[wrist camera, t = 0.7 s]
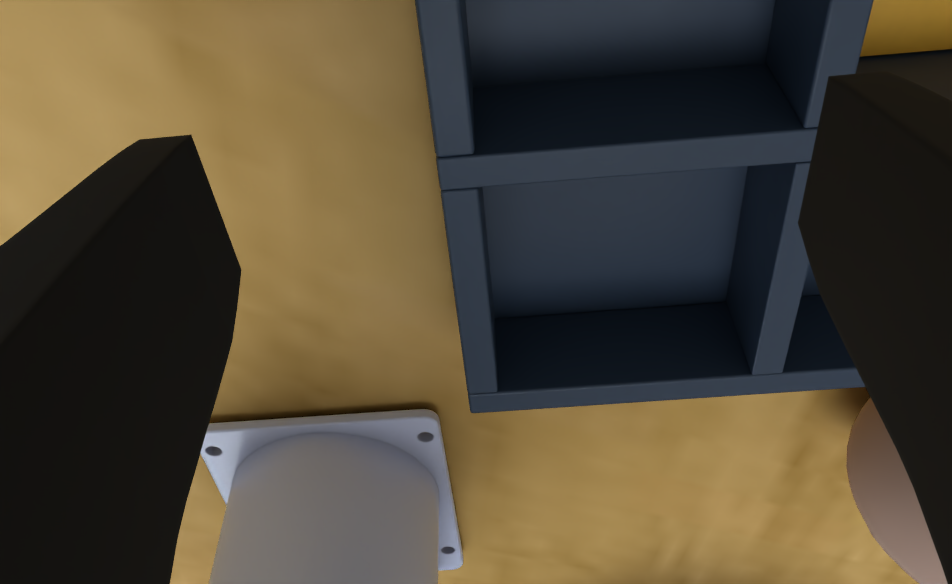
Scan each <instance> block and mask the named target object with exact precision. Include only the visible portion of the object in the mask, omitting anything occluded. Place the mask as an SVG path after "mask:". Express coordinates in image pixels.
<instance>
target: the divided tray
mask: <svg viewBox="0 0 952 584" xmlns="http://www.w3.org/2000/svg"><path fill="white" fill-rule="evenodd" d="M415 5H416V13H417V20H418V28H419V35H420V42H421V50H422V57H423V65H424V72H425V80H426V87H427V94H428V102H429V109H430V117H431V124H432V131H433V139H434V146H435V153H436V162H437V170H438V177H439V184H440V188H441V199H442V206H443V214H444V221H445V228H446V236H447V243H448V251H449V258H450V265H451V273H452V280H453V288H454V295H455V302H456V310H457V317H458V325H459V332H460V339H461V347H462V354H463V362H464V369H465V376H466V384H467V391H468V399H469V406H470V411H471V413H484V412H499V411H514V410H528V409H543V408H558V407H573V406H588V405H603V404H618V403H633V402H647V401H662V400H677V399H692V398H707V397H722V396H737V395H751V394H766V393H781V392H796V391H811V390H826V389H841V388H856V387H865V385H864V383H863V381H862V379H861V377H860V375H859V373H858V371H857V369H856V367H855V365H854V363H853V361H852V359H851V357H850V355H849V353H848V351H847V349H846V347H845V345H844V343H843V341H842V339H841V337H840V335H839V333H838V331H837V329H836V327H835V324H834V322H833V320H832V318H831V316H830V314H829V312H828V310H827V308H826V306H825V304H824V302H823V299H822V297H821V295H820V293H819V290H818V287H817V284H816V281H815V278H814V275H813V272H812V269H811V266H810V263H809V259H808V256H807V253H806V249H805V246H804V242H803V239H802V236H801V232H800V229H799V225H798V220H799V215H800V210H801V205H802V201H803V196H804V191H805V186H806V182H807V177H808V172H809V167H810V162H811V158H812V153H813V148H814V143H815V139H816V134H817V129H818V124H819V120H820V115H821V110H822V105H823V100H824V96H825V91H826V86H827V81H828V77H829V76H836V75H847V74H858V73H869V72H880V71H886V72H889V73H892V74H894V75H897V76H900V77H902V78H905V79H907V80H909V81H912V82H914V83H916V84H918V85H920V86H922V87H925V88H927V89H929V90H931V91H933V92H935V93H937V94H939V95H941V96H943V97H945V98H947V99H949V100H951V101H952V0H415Z"/></svg>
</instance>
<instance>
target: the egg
mask: <svg viewBox="0 0 952 584" xmlns="http://www.w3.org/2000/svg"><path fill="white" fill-rule="evenodd" d="M846 466H847V472H848V478H849V483H850V487H851V491H852V494H853V497H854V500H855V502H856V505H857V507H858V509H859V511H860V513H861V515H862V517H863V519H864V521H865V522H866V524H867V526H868V528H869V530H870V532H871V534H872V536H873V537H874V538H875V539H876V541H877V542H878V543H879V545H880V546H881V547H882V548H883V550H884V551H885V552H886V553H887V554H888V555H889V556H890V557H891V558H892V559H893V560H894V561H895V562H896V563H897V564H898V565H899V566H900V567H901V568H902V569H903V570H904V571H905V572H906V573H907V574H908V575H909V576H911V577H912V578H913V579H914V580H916V581H917V582H918V583H920V584H948V583H947V580H946V577H945V574H944V571H943V568H942V565H941V562H940V560H939V557H938V554H937V551H936V549H935V546H934V543H933V540H932V538H931V535H930V532H929V529H928V527H927V524H926V521H925V518H924V515H923V513H922V510H921V507H920V504H919V502H918V499H917V496H916V493H915V491H914V488H913V485H912V483H911V481H910V479H909V476H908V474H907V472H906V470H905V467H904V465H903V463H902V460H901V458H900V456H899V454H898V451H897V449H896V447H895V445H894V443H893V441H892V439H891V437H890V435H889V433H888V431H887V429H886V427H885V425H884V423H883V421H882V419H881V417H880V415H879V413H878V411H877V409H876V407H875V405H874V403H873V401H872V399H871V397H870V398H869V399H868V401H867V402H866V403H865V405H864V406H863V407H862V409H861V410H860V412H859V414H858V416H857V418H856V420H855V422H854V424H853V425H852V429H851V433H850V437H849V441H848V445H847V465H846Z"/></svg>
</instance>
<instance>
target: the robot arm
mask: <svg viewBox="0 0 952 584" xmlns="http://www.w3.org/2000/svg"><path fill="white" fill-rule="evenodd" d="M798 225H799V229H800V232H801V236H802V239H803V242H804V246H805V249H806V253H807V256H808V259H809V263H810V266H811V269H812V272H813V275H814V278H815V281H816V284H817V287H818V290H819V293H820V295H821V297H822V299H823V302H824V304H825V306H826V308H827V310H828V312H829V314H830V316H831V318H832V320H833V322H834V324H835V327H836V329H837V331H838V333H839V335H840V337H841V339H842V341H843V343H844V345H845V347H846V349H847V351H848V353H849V355H850V357H851V359H852V361H853V363H854V365H855V367H856V369H857V371H858V373H859V375H860V377H861V379H862V381H863V383H864V385H865V387H866V389H867V391H868V393H869V395H870V397H871V399H872V401H873V403H874V405H875V407H876V409H877V411H878V413H879V415H880V417H881V419H882V421H883V423H884V425H885V427H886V429H887V431H888V433H889V435H890V437H891V439H892V441H893V443H894V445H895V447H896V449H897V451H898V454H899V456H900V458H901V460H902V463H903V465H904V467H905V470H906V472H907V474H908V476H909V479H910V481H911V483H912V485H913V488H914V491H915V493H916V496H917V499H918V502H919V504H920V507H921V510H922V513H923V515H924V518H925V521H926V524H927V527H928V529H929V532H930V535H931V538H932V540H933V543H934V546H935V549H936V551H937V554H938V557H939V560H940V562H941V565H942V568H943V571H944V574H945V577H946V580H947V583H948V584H952V101H951V100H949V99H947V98H945V97H943V96H941V95H939V94H937V93H935V92H933V91H931V90H929V89H927V88H925V87H922V86H920V85H918V84H916V83H914V82H912V81H909V80H907V79H905V78H902V77H900V76H897V75H894V74H892V73H889V72H886V71H880V72H869V73H858V74H847V75H836V76H829V77H828V81H827V86H826V91H825V96H824V100H823V105H822V110H821V115H820V120H819V124H818V129H817V134H816V139H815V143H814V148H813V153H812V158H811V162H810V167H809V172H808V177H807V182H806V186H805V191H804V196H803V201H802V205H801V210H800V215H799V220H798ZM240 277H241V268H240V265H239V262H238V260H237V257H236V254H235V252H234V249H233V246H232V243H231V241H230V238H229V235H228V233H227V230H226V227H225V225H224V222H223V219H222V217H221V214H220V211H219V208H218V206H217V203H216V200H215V198H214V195H213V192H212V190H211V187H210V184H209V182H208V179H207V176H206V173H205V171H204V168H203V165H202V163H201V160H200V157H199V155H198V152H197V149H196V146H195V144H194V141H193V138H192V136H191V135H184V136H174V137H163V138H152V139H141V140H138V141H137V142H135V143H133V144H132V145H130V146H129V147H127V148H125V149H124V150H122V151H121V152H120V153H118V154H117V155H115V156H114V157H113V158H111V159H110V160H109V161H107V162H106V163H105V164H103V165H102V166H101V167H100V168H98V169H97V170H96V171H94V172H93V173H92V174H91V175H89V176H88V177H87V178H86V179H84V180H83V181H82V182H81V183H79V184H78V185H77V186H76V187H74V188H73V189H72V190H71V191H69V192H68V193H67V194H66V195H64V196H63V197H62V198H61V199H59V200H58V201H57V202H56V203H54V204H53V205H52V206H51V207H49V208H48V209H47V210H46V211H44V212H43V213H42V214H41V215H39V216H38V217H37V218H35V219H34V220H33V221H32V222H30V223H29V224H28V225H27V226H25V227H24V228H23V229H22V230H20V231H19V232H18V233H17V234H15V235H14V236H13V237H12V238H10V239H9V240H8V241H6V242H5V243H4V244H2V245H1V246H0V584H170V579H171V573H172V567H173V561H174V555H175V549H176V544H177V538H178V534H179V530H180V525H181V521H182V517H183V513H184V509H185V505H186V501H187V497H188V494H189V490H190V487H191V483H192V480H193V476H194V473H195V470H196V466H197V463H198V459H199V456H200V454H201V456H202V458H203V460H204V462H205V464H206V466H207V468H208V470H209V472H210V474H211V476H212V478H213V480H214V481H215V483H216V485H217V487H218V489H219V491H220V493H221V495H222V497H223V499H224V501H225V503H226V505H227V506H226V511H225V515H224V519H223V524H222V528H221V532H220V537H219V541H218V545H217V550H216V554H215V558H214V563H213V567H212V571H211V576H210V580H209V584H438V570H453V569H457V568H459V567H461V566H462V565H463V551H462V545H461V539H460V534H459V528H458V522H457V517H456V511H455V505H454V500H453V494H452V488H451V483H450V477H449V471H448V465H447V460H446V454H445V448H444V443H443V437H442V431H441V426H440V420H439V417H438V415H437V414H436V413H435V412H434V411H431V410H428V409H414V410H400V411H385V412H370V413H355V414H340V415H326V416H311V417H296V418H281V419H266V420H252V421H237V422H222V423H209V422H210V418H211V415H212V411H213V408H214V405H215V401H216V398H217V394H218V391H219V387H220V383H221V380H222V376H223V373H224V369H225V366H226V362H227V358H228V355H229V351H230V347H231V343H232V339H233V332H234V325H235V318H236V312H237V303H238V295H239V286H240Z"/></svg>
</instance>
